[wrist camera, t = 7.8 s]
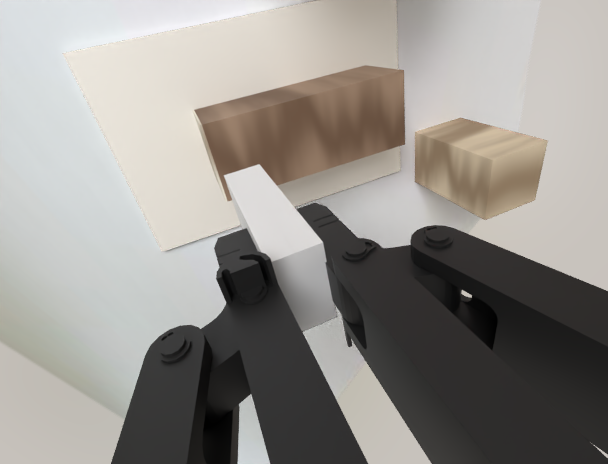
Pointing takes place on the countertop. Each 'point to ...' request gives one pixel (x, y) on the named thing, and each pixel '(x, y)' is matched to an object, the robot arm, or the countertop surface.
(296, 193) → the board
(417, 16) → the countertop surface
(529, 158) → the beech block
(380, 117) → the walnut block
